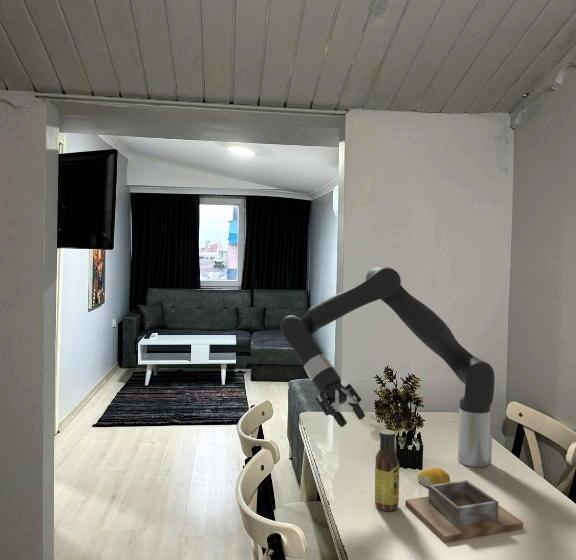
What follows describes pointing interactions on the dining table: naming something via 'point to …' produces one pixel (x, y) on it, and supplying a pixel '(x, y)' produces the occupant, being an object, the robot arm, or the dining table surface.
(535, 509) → the dining table surface
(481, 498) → the bottle stand
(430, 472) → the bread roll
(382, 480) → the sauce bottle
